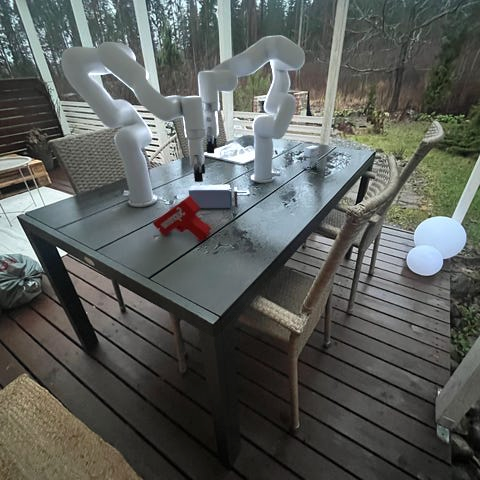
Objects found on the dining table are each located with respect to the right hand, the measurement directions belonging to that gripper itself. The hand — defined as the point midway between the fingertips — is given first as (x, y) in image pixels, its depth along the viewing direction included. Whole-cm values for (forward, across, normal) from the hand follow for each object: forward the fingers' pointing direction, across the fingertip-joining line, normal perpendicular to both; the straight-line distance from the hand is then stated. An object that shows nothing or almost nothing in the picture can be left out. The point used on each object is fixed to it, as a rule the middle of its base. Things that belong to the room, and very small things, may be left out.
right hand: (212, 150), depth 118 cm
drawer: (+20, -13, -6) cm, 24 cm away
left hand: (+7, -13, +4) cm, 16 cm away
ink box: (+20, +42, -53) cm, 70 cm away
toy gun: (+21, -37, +8) cm, 43 cm away
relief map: (+20, +68, -7) cm, 71 cm away
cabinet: (+21, -13, 0) cm, 24 cm away
